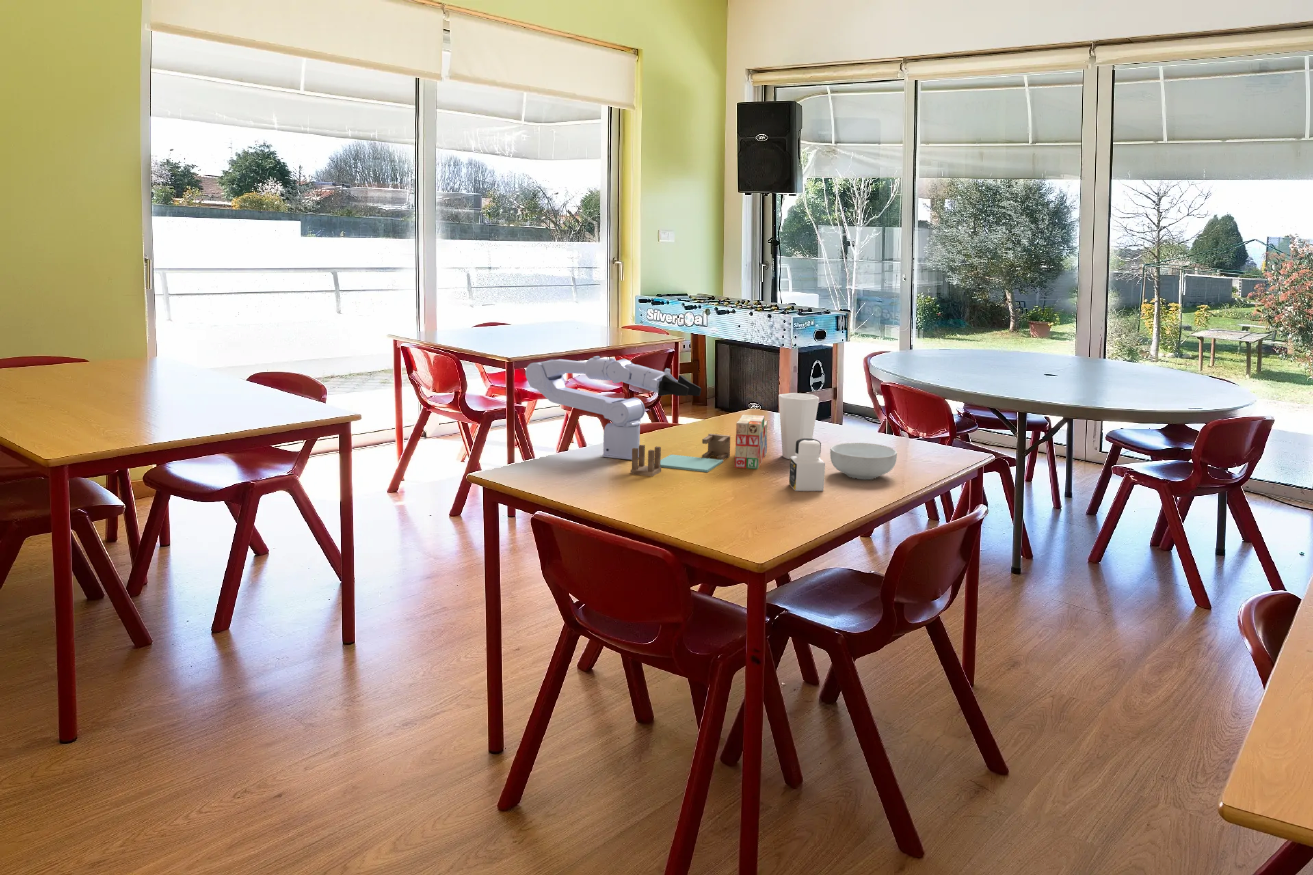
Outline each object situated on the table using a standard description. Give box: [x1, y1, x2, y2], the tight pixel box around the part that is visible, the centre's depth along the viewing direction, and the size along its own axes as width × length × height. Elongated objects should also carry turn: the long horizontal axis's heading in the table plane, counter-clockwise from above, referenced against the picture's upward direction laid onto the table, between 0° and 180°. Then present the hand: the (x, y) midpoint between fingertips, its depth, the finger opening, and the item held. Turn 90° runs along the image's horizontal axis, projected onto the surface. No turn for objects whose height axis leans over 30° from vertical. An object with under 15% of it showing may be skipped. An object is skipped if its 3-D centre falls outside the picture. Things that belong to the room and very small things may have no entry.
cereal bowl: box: [829, 442, 898, 480], centre depth 271 cm, size 17×17×7 cm
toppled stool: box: [701, 433, 731, 461], centre depth 288 cm, size 6×6×7 cm
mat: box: [660, 454, 724, 473], centre depth 280 cm, size 15×13×1 cm
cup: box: [778, 392, 820, 460], centre depth 290 cm, size 11×10×17 cm
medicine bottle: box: [788, 438, 826, 492], centre depth 257 cm, size 7×7×12 cm
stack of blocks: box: [734, 414, 768, 470], centre depth 286 cm, size 21×6×12 cm, turn 168°
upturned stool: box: [630, 444, 662, 477], centre depth 269 cm, size 6×6×7 cm
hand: (694, 392), depth 274 cm, fingers open, 7 cm apart
